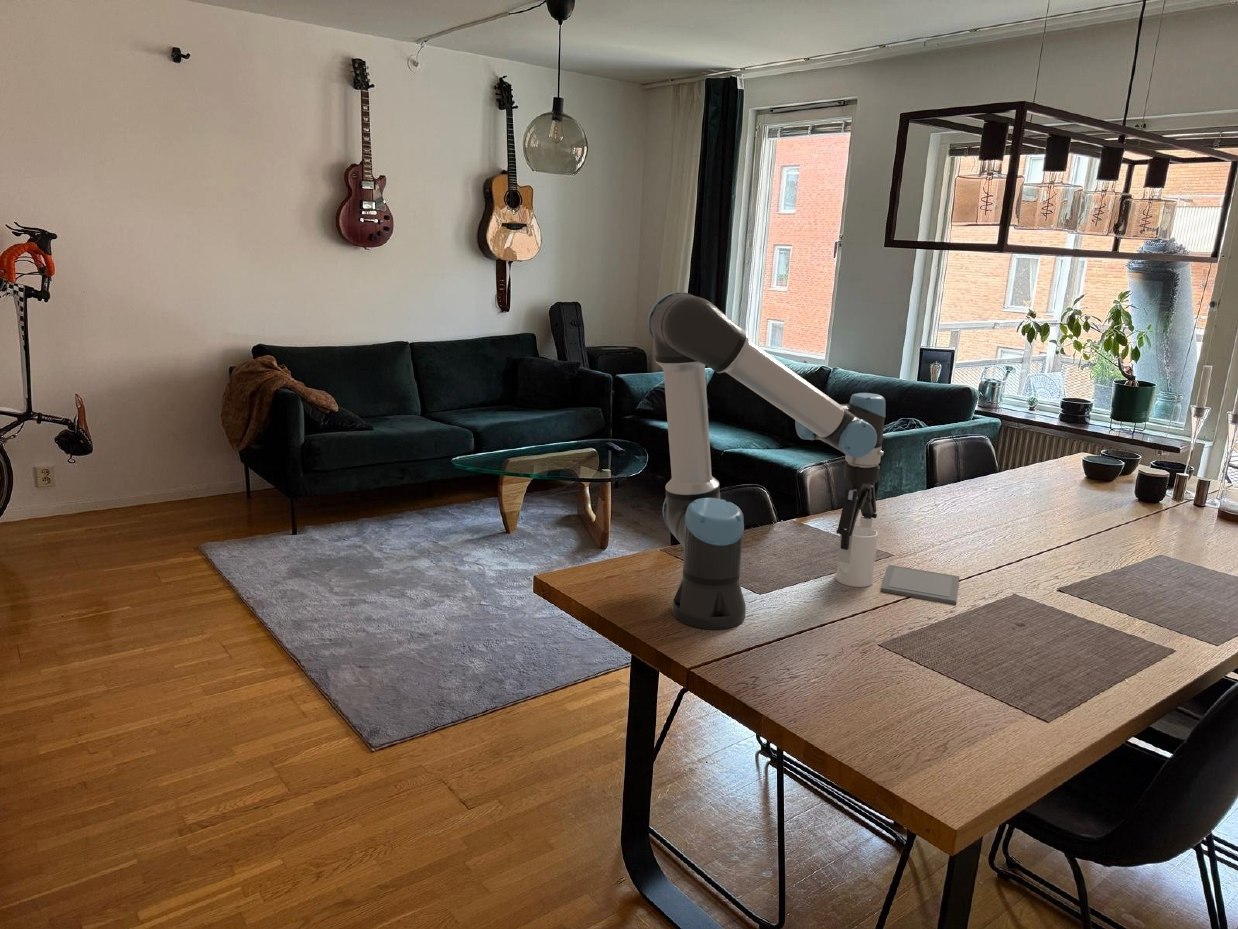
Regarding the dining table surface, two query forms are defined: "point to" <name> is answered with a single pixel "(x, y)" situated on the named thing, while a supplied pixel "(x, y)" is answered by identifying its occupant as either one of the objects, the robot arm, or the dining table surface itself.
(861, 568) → the mug
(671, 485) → the robot arm
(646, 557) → the dining table surface
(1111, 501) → the dining table surface
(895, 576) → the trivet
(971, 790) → the dining table surface
